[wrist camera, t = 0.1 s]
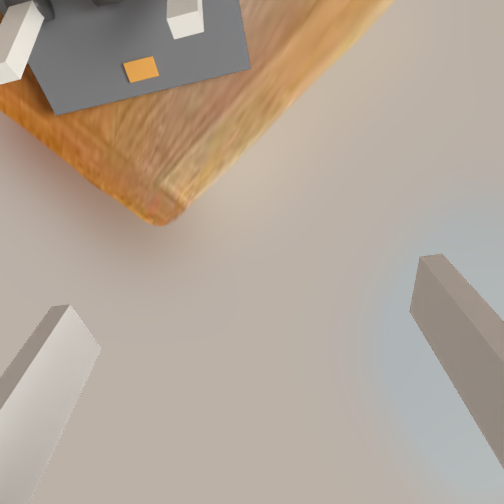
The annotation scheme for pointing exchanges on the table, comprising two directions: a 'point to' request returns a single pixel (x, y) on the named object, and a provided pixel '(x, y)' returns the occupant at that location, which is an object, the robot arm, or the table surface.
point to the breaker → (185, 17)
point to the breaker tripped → (104, 2)
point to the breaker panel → (130, 50)
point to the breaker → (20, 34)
